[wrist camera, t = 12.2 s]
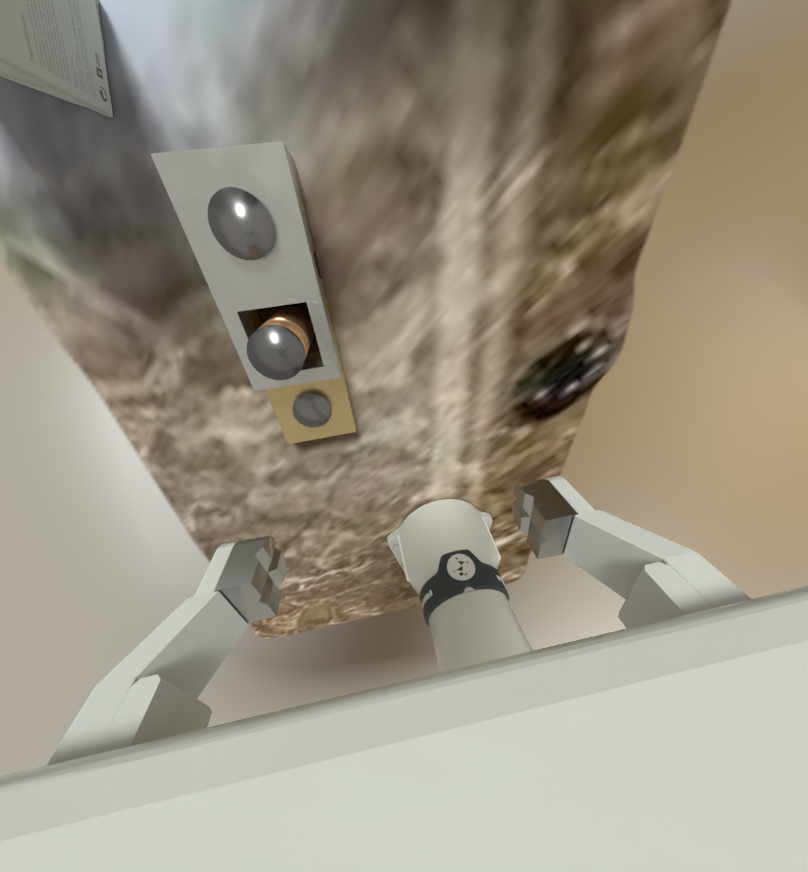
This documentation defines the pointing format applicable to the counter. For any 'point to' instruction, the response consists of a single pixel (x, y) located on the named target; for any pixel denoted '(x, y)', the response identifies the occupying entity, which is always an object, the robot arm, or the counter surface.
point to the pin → (281, 344)
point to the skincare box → (56, 50)
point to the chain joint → (261, 269)
